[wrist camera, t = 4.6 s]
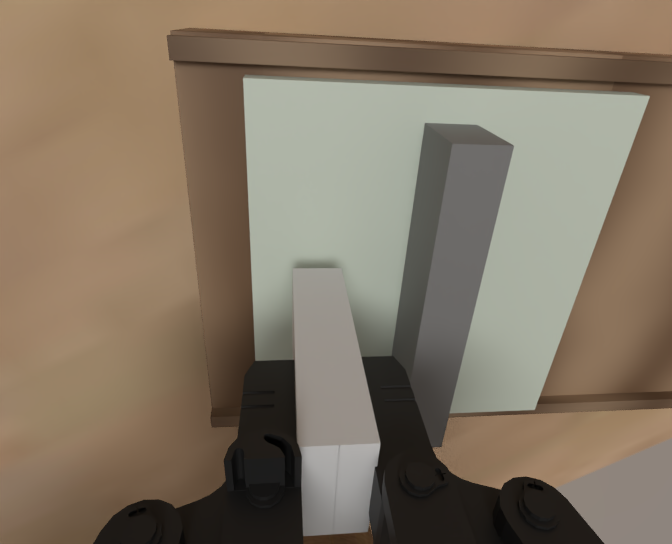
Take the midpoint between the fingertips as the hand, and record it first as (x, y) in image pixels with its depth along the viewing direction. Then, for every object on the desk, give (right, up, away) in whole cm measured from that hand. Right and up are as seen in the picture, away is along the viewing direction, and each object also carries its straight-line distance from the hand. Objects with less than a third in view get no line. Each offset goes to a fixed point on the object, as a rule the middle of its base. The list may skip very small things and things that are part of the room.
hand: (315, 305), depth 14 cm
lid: (+4, +1, +2) cm, 5 cm away
